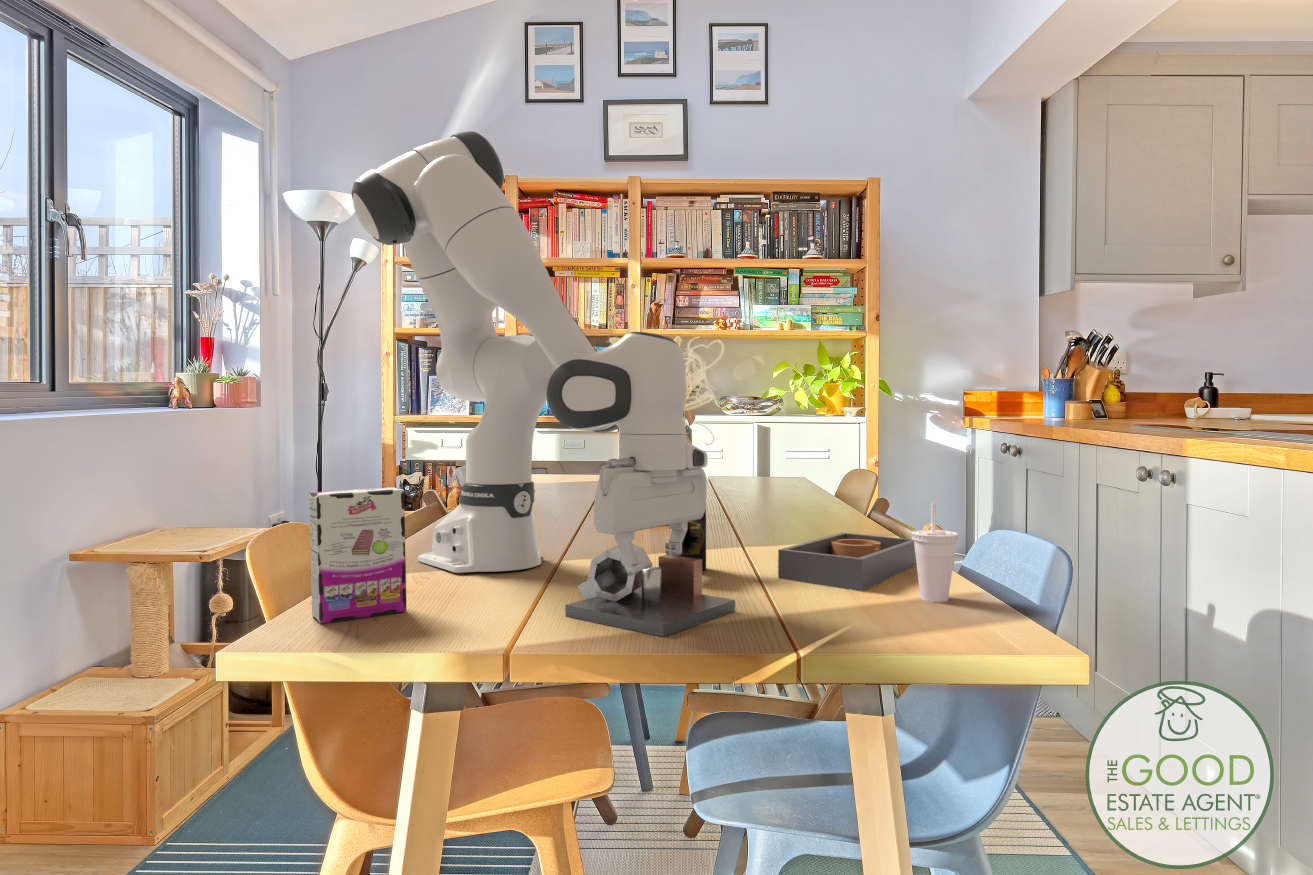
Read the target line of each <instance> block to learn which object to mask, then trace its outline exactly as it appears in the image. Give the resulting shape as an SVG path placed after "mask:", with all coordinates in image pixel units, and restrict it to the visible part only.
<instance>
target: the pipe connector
mask: <svg viewBox="0 0 1313 875" xmlns="http://www.w3.org/2000/svg"><path fill="white" fill-rule="evenodd" d="M670 535H671V533H670V534H669V536H670ZM678 556H682V557H689V558H697V559H702V573H704V572H706V571H707V509H706V510H705V512H704V515H703V517H702V518H701V519H698V520H693V521H687V532H686V534H685V537H684V540H683V542H682V554H681V555H678Z"/></svg>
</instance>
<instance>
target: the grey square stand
mask: <svg viewBox="0 0 1313 875" xmlns="http://www.w3.org/2000/svg"><path fill="white" fill-rule="evenodd" d="M564 608H565V612H564V613H565V617H566V618H567V617H568V618H573V619H578V620H582V621H587V622H591V623H596V624H601V625H605V626H610V627H615V628H620V629H623V630H624V629H625V630H630V631H633V632H638V633H644V634H648V635H654V636H658V637H662V638H665V637H667V636H669V635H673V634H675V633H678V632H681V631H684V630H686V629H689V628H692V627H695V626H697V625H700V624H703V623H706V622H709V621H711V620H714V619H717V618H719V617H722V616H725V615H728V614H732V613H733V612H735V611H736V599H733V598H732V599H731V598H725V597H719V596H713V595H708V594H703V572H702V559H697V558H689V557H682V556H667V555H666V554H664V555H659V556H658V566H652V567H643V568H642V586H641V587H640V588H638V589H636V590H635V591H633V592H631V593H629V594H628V595H626V596H624V597H623V598H621V599H619V600H618V601H616V602H614V601H611V600H608V599H605V598H602V597H599V596H596V597H593V598H589V599H585V600H584V599H581V600H578V601H574V602H570V603H566V604H565V607H564Z"/></svg>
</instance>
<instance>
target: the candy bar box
mask: <svg viewBox="0 0 1313 875" xmlns="http://www.w3.org/2000/svg"><path fill="white" fill-rule="evenodd" d="M308 496H309V497H308V498H309V501H308V502H309V503H308V504H309V532H310V533H309V535H310V538H309V539H310V541H309V542H310V545H309V546H310V576H311V577H310V579H311V582H310V583H311V585H310V586H311V590H310V591H311V615H312V617H313V619H315V620H316V621H317V622H318V623H319V624H329V623H336V622H343V621H351V620H358V619H363V618H370V617H376V616H377V617H378V616H383V615H390V614H398V613H402V612H406V611H407V570H406V568H407V565H406V561H407V560H406V557H407V556H406V518H405V517H406V516H405V513H406V512H405V489H402V488H398V487H396V486H393V487H376V488H361V489H359V488H358V489H344V490H343V489H342V490H331V491H328V490H327V491H317V492H309V495H308Z"/></svg>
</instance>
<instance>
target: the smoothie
mask: <svg viewBox="0 0 1313 875" xmlns="http://www.w3.org/2000/svg"><path fill="white" fill-rule="evenodd" d="M936 505H937V504H936V502H931V513H930V515H931V520H930V521H931V522H930V523H931V524H930V525H931V527H930V529H917V530H913V531H912V532H911V539H913V540H914V546H915V555H916V563H917V565H916V571H917V581H918V589H919V596H920V600H922V601H924V602H928V603H945V602H948V601H949V596H950V590H951V582H952V577H953V576H952V575H953V568H954V563H955V562H954V560H955V554H956V548H957V543H958V542H960V539H959V533H958V532H955V531H949V530H942V529H936Z"/></svg>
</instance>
